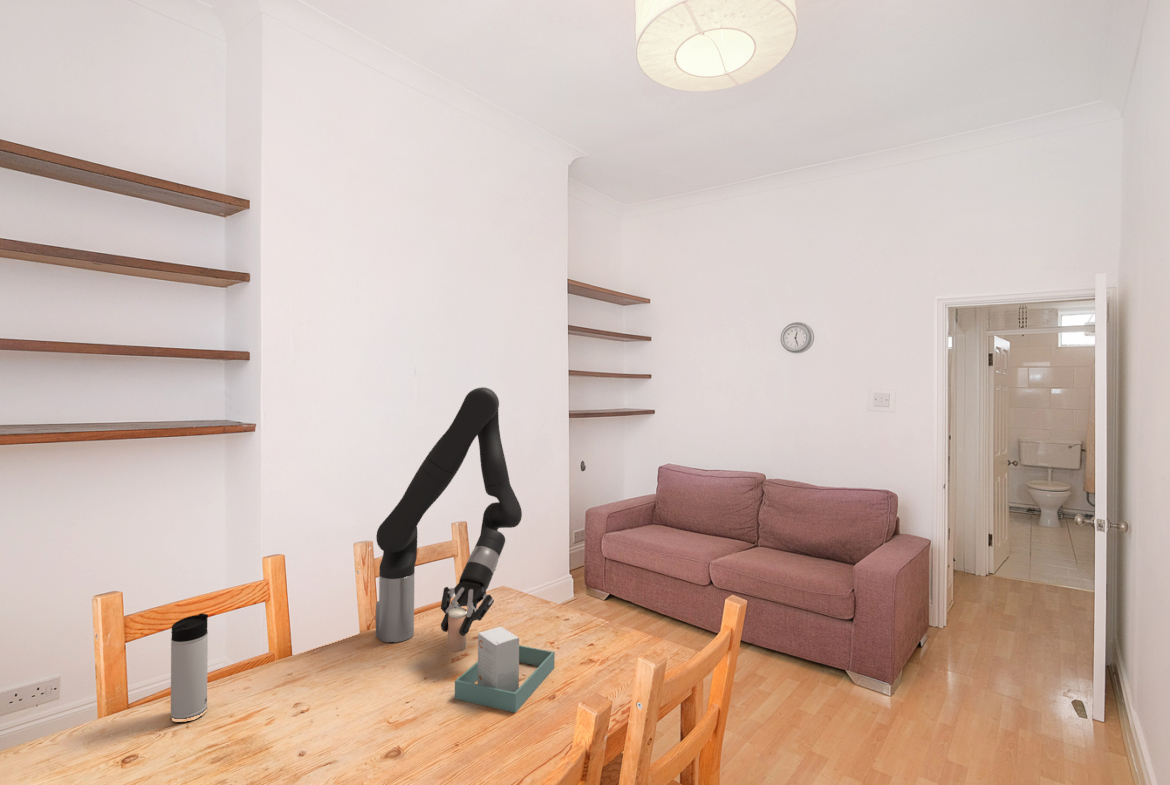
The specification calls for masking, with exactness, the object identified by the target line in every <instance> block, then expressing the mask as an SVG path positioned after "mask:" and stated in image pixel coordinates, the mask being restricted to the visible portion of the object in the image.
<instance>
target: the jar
mask: <svg viewBox="0 0 1170 785" xmlns="http://www.w3.org/2000/svg"><path fill="white" fill-rule="evenodd" d="M465 617H466V618H467V609H466V608H465V607H461V608H453V609H451V610H449V614H448V631H447V639H446V641H447V642H446V643H447V644H446V650H447V651H448V652H451V653H460V652H462V651H464V650H466V646H467V645H466V644H467V642H466V641H467V634H465V636H462V635H461V634H460V633H459V631H460V628H461V626H462V623H463V621H464V619H465Z"/></svg>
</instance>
